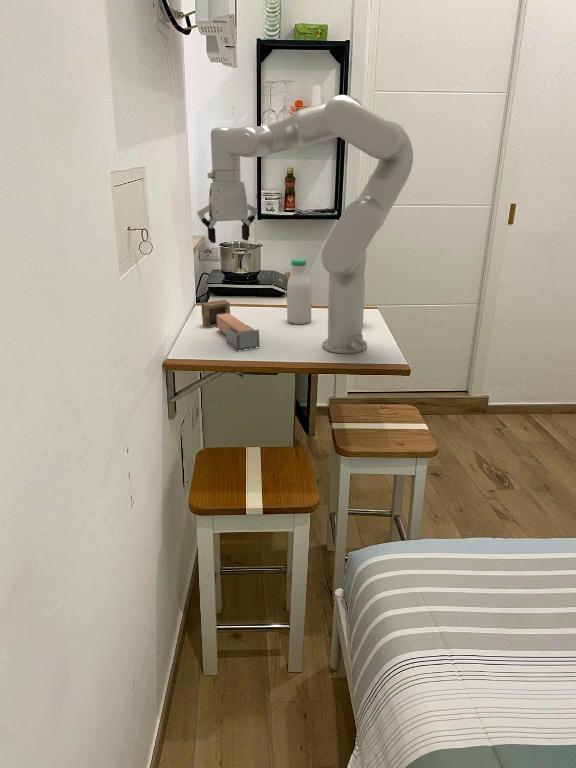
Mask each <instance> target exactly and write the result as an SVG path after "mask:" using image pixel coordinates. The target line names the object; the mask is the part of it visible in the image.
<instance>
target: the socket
mask: <svg viewBox="0 0 576 768" xmlns="http://www.w3.org/2000/svg"><path fill="white" fill-rule="evenodd" d="M200 304H201V305H200V306H201V318H202V319H201V321H202V326H203V327H205V328H206V329H209V328H217V322H216V314H223V313H229V314H231V309H230V308H231V307H230V304H231V303H230V302H229V301H228V300H227V299H223V300H222V299H221V300H215V301H206V302H201V303H200Z"/></svg>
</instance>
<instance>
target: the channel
mask: <svg viewBox="0 0 576 768" xmlns="http://www.w3.org/2000/svg"><path fill="white" fill-rule="evenodd" d="M246 325H247V326H248V327H250V328H251V329H253V331H246V332H239V333H235V332H234V331H233V330H231V329H230V328H226V334H225V335H226V337H225V338H226V343H227V344H228V345H229V346H230V347H232V348H233V349H234V348H235V349H234V350H235V351H237V352H240V351H239V350H243V351H245V350H244V349H249V350H251V349H250V348H255V349H257V348H256V347H260V330H259V329H254V328H253V327H252V326H250V325H248V324H246Z"/></svg>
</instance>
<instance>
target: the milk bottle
mask: <svg viewBox="0 0 576 768" xmlns="http://www.w3.org/2000/svg"><path fill="white" fill-rule="evenodd" d="M306 267H307V259H305V258H293V259H291V269H292V270H291V273H290V276H289V278H288V280H287V287H286V307H287V308H286V310H287V311H286V313H287V314H286V315H287V316H286V317H287V322H288V323H289V322H290V323H289V324H292V323H293V325H306V324H309V323H310V322H311V321H312V285H311V281H310V278H309V276H308V273H307V270H306ZM305 323H306V324H305Z"/></svg>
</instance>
